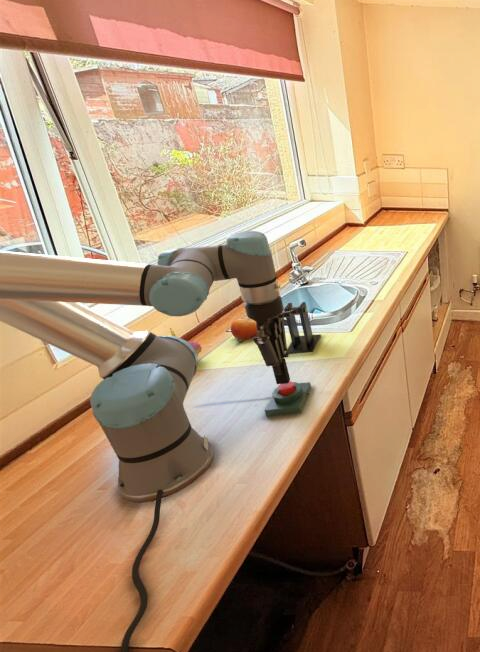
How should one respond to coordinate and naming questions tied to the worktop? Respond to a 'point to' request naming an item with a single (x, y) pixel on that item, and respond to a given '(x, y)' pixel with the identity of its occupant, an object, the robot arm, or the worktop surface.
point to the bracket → (298, 342)
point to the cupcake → (193, 344)
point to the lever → (291, 312)
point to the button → (286, 388)
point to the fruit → (244, 328)
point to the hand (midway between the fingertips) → (283, 381)
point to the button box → (288, 401)
